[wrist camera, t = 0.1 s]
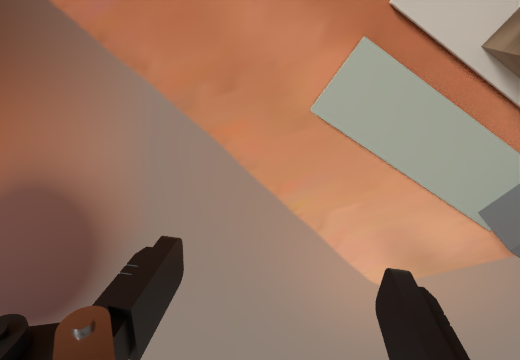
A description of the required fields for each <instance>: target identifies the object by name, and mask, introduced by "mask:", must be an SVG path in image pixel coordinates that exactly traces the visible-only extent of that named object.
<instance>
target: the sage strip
mask: <svg viewBox="0 0 520 360" xmlns="http://www.w3.org/2000/svg"><path fill="white" fill-rule="evenodd" d="M311 112H313V113H314V114H316V115H317V116H319V117H320V118H322V119H323V120H325V121H326V122H328V123H329V124H331V125H332V126H334V127H335V128H337V129H338V130H340V131H341V132H343V133H344V134H346V135H347V136H349V137H350V138H352V139H353V140H355V141H356V142H358V143H359V144H361V145H362V146H364V147H365V148H367V149H368V150H370V151H371V152H373V153H374V154H376V155H377V156H378V157H380V158H381V159H383V160H384V161H386V162H387V163H389V164H390V165H392V166H393V167H395V168H396V169H398V170H399V171H401V172H402V173H404V174H405V175H407V176H408V177H410V178H411V179H413V180H414V181H416V182H417V183H419V184H420V185H422V186H423V187H425V188H426V189H428V190H429V191H431V192H432V193H434V194H435V195H437V196H438V197H440V198H441V199H443V200H444V201H446V202H447V203H449V204H450V205H452V206H453V207H454V208H456V209H457V210H459V211H460V212H462V213H463V214H465V215H466V216H468V217H469V218H471V219H472V220H474V221H475V222H477V223H478V224H480V225H481V226H483V227H484V228H486V229H487V230H489V231H491V230H493V232H494V233H495V234H496V235H497V236H498V238H499V239H500V240H501V241H502V243H503V244H504V245H505V246H506V247H507V249H508V250H509V251H510V252H512V253H513V254H515V255H516V256H518V257H519V258H520V154H519V153H518V152H517V151H515V150H514V149H513V148H511V147H510V146H509V145H507V144H506V143H505V142H503V141H502V140H501V139H500V138H498V137H497V136H496V135H494V134H493V133H492V132H490V131H489V130H488V129H486V128H485V127H484V126H482V125H481V124H480V123H478V122H477V121H476V120H474V119H473V118H472V117H470V116H469V115H468V114H467V113H465V112H464V111H463V110H461V109H460V108H459V107H457V106H456V105H455V104H453V103H452V102H451V101H449V100H448V99H447V98H445V97H444V96H443V95H441V94H440V93H439V92H438V91H436V90H435V89H434V88H432V87H431V86H430V85H428V84H427V83H426V82H424V81H423V80H422V79H420V78H419V77H418V76H416V75H415V74H414V73H412V72H411V71H410V70H408V69H407V68H406V67H405V66H403V65H402V64H401V63H399V62H398V61H397V60H395V59H394V58H393V57H391V56H390V55H389V54H387V53H386V52H385V51H383V50H382V49H381V48H379V47H378V46H377V45H376V44H374V43H373V42H372V41H370V40H369V39H368V38H366V37H365V36H364V37H363V38H362V39H361V41H360V42H359V43H358V45H357V46H356V47H355V49H354V50H353V51H352V53H351V54H350V56H349V57H348V58H347V60H346V61H345V62H344V64H343V65H342V66H341V68H340V69H339V70H338V72H337V73H336V74H335V76H334V77H333V78H332V80H331V81H330V82H329V84H328V85H327V87H326V88H325V89H324V91H323V92H322V93H321V95H320V96H319V97H318V99H317V100H316V101H315V103H314V104H313V105H312V107H311Z"/></svg>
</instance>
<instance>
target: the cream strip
mask: <svg viewBox="0 0 520 360" xmlns="http://www.w3.org/2000/svg"><path fill="white" fill-rule="evenodd" d="M389 4H391V5H392V6H393V7H394V8H396V9H397V10H398V11H399V12H401V13H402V14H403V15H404V16H406V17H407V18H408V19H409V20H411V21H412V22H413V23H414V24H416V25H417V26H418V27H419V28H421V29H422V30H423V31H424V32H426V33H427V34H428V35H429V36H431V37H432V38H433V39H434V40H436V41H437V42H438V43H439V44H441V45H442V46H443V47H444V48H446V49H447V50H448V51H449V52H451V53H452V54H453V55H454V56H456V57H457V58H458V59H459V60H461V61H462V62H463V63H464V64H466V65H467V66H468V67H469V68H471V69H472V70H473V71H474V72H476V73H477V74H478V75H479V76H481V77H482V78H483V79H484V80H486V81H487V82H488V83H489V84H491V85H492V86H493V87H494V88H496V89H497V90H498V91H499V92H501V93H502V94H503V95H504V96H506V97H507V98H508V99H509V100H511V101H512V102H513V103H514V104H516V105H517V106H518V107H519V108H520V78H519V77H518V76H516V75H515V74H514V73H513V72H512V71H510V70H509V69H508V68H507V67H506V66H504V65H503V64H502V63H501V62H500V61H498V60H497V59H496V58H495V57H493V56H492V55H491V54H490V53H489V52H487V51H486V50H485V49H484V48H483V47H481V46H482V45H483V44H484V43H485V42H486V41H487V40H488V39H489V38H490V37H491V36H492V35H493V34H494V33H495V32H496V31H497V30H498V29H499V28H500V27H501V26H502V25H503V24H504V23H505V22H506V21H507V20H508V19H509V18H510V17H511V15H512V14H513V13H514V12H515V11H516V10H517V9H518V8H519V7H520V0H390V2H389Z"/></svg>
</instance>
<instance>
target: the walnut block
mask: <svg viewBox="0 0 520 360" xmlns="http://www.w3.org/2000/svg"><path fill="white" fill-rule="evenodd" d="M481 47H483V48H484V49H485V50H486V51H487V52H489V53H490V54H491V55H492V56H493V57H495V58H496V59H497V60H498V61H500V62H501V63H502V64H503V65H504V66H506V67H507V68H508V69H509V70H510V71H512V72H513V73H514V74H515V75H516V76H518V77H519V78H520V7H519V8H518V9H517V10H516V11H515V12H514V13H513V14H512V15H511V17H510V18H509V19H508V20H507V21H506V22H505V23H504V24H503V25H502V26H501V27H500V28H499V29H498V30H497V31H496V32H495V33H494V34H493V35H492V36H491V37H490V38H489V39H488V40H487V41H486V42H485V43H484V44H483V45H482V46H481Z"/></svg>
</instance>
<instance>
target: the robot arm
mask: <svg viewBox="0 0 520 360" xmlns="http://www.w3.org/2000/svg"><path fill="white" fill-rule="evenodd" d="M183 271H184V265H183V245H182V239H181V238H175V237H168V236H161V237H160V238H159V240H158V241H157V243H156V244H155V245H154V246H153V247H145V248H144V249H142V250H141V251H139V252H138V253H136V254H135V255H134V256H133V257H132V258H131V259H130V261H129V262H128V263H127V265H126V266H125V267H124V268H123V269H122V270H121V271H120V274H118V275H117V276H116V277H115V279H114V280H113V281H112V282H111V283H110V285H109V286H108V287H107V288H106V289H105V291H104V292H103V293H102V294H101V296H100V297H99V298H98V299H97V300H96V301H95V303H94V304H93V305H92V306H88V307H84V308H81V309H78V310H76V311H74V312H73V313H71V314H69V315H68V316H67V317H66V318H64V319H63V320H62V321H61V322H60V323H53V324H46V325H38V326H30V327H29V325H28V322H27V320H26V318H25V317H24V316H22V315H19V314H8V315H3V316H0V360H128V359H129V360H140V359H141V357H142V355H143V353H144V351H145V349H146V348H147V345H148V344H149V342H150V340H151V338H152V336H153V334H154V332H155V330H156V329H157V327H158V325H159V323H160V321H161V319H162V317H163V315H164V313H165V311H166V310H167V308H168V306H169V304H170V302H171V300H172V298H173V296H174V295H175V292H176V291H177V289H178V287H179V285H180V283H181V280H182V277H183ZM376 315H377V319H378V322H379V326H380V329H381V332H382V336H383V339H384V343H385V346H386V349H387V353H388V356H389V360H470V359H469V357H468V355H467V353H466V351H465V350H464V348H463V346H462V344H461V342H460V341H459V339H458V337H457V335H456V333H455V332H454V330H453V328H452V327H451V326H450V323H449V321H448V319H447V317H446V316H445V315H444V312H443V310H442V308H441V307H440V305H439V303H438V301H437V299H436V298H434V296H432V294H430V293H429V292H428V291H427V290H426V289H425V288H424V287H418V286H417V284H416V282H415V280H414V278H413V276H412V274H411V273H410V272H409V271H406V270H399V269H391V268H387V269H386V270H385V273H384V276H383V279H382V282H381V285H380V288H379V291H378V294H377V298H376Z"/></svg>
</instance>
